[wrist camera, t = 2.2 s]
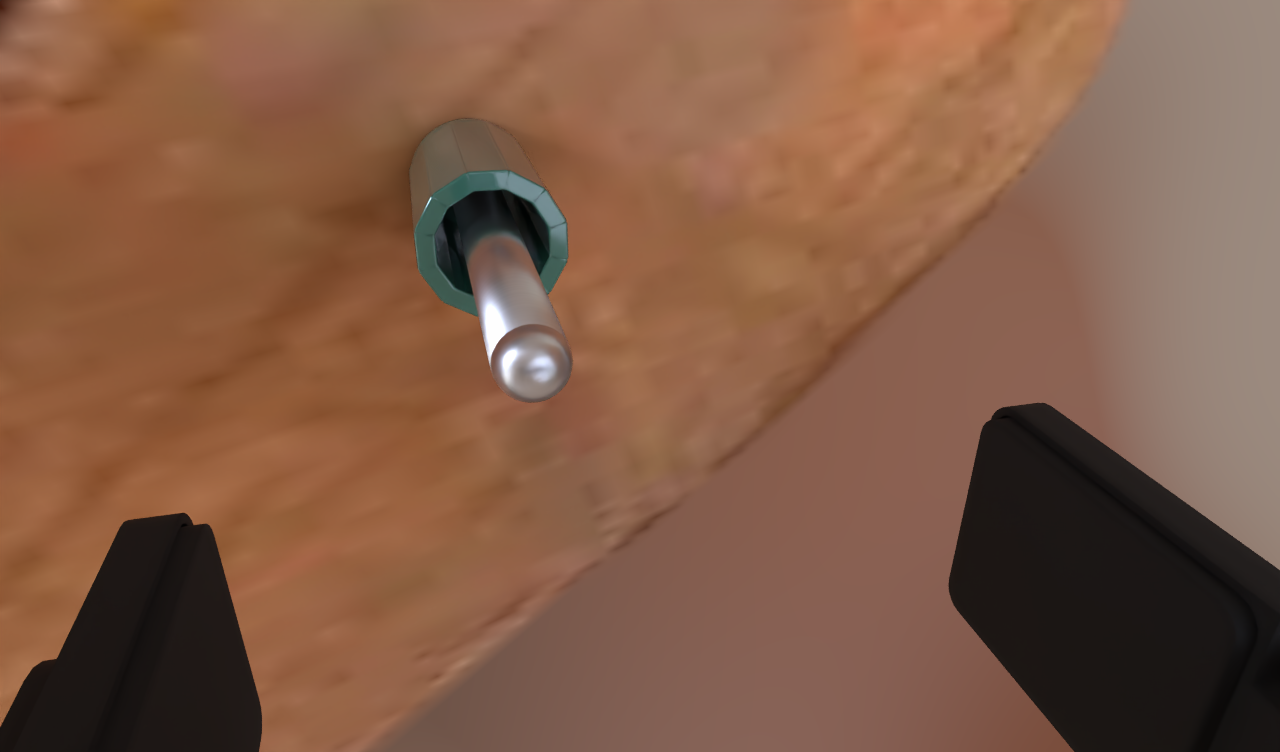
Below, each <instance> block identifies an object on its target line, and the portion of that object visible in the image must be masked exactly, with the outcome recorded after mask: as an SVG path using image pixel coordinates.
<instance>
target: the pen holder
mask: <svg viewBox="0 0 1280 752" xmlns="http://www.w3.org/2000/svg"><path fill="white" fill-rule="evenodd" d="M409 179H410V192H411V205H412V218H413V232H414V241H415V250H416V258H417V267H418V270H419V273H420V274H421V275H422V277H423V278H424V279H425V281H426V282H427V283H428V284H429V286H430V287H431V288H432V290H433V291H434V292H435V293H436V295H437V296H438V297H439V299H440V300H441V301H443V302H444V303H446V304H448V305H450V306H453V307H455V308H458V309H460V310H462V311H465V312H467V313H470V314H472V315H474V316H477V317H479V316H478V312H477V307H476V303H475V299H474V294H473V290H472V286H471V281H470V277H469V273H468V268H467V264H466V260H465V255H464V251H463V247H462V242H461V238H460V234H459V229H458V225H457V221H456V216H455V212H454V208H453V205H454V204H456V203H457V202H459V201H460V200H462V199H463V198H465V197H466V196H468V195H469V194H471V193H472V192H477V191H494V190H502V192H503V195H504V197H505V199H506V201H507V204H508V206H509V208H510V211H511V213H512V215H513V218H514V220H515V222H516V224H517V227H518V229H519V231H520V234H521V236H522V238H523V240H524V243H525V245H526V247H527V250H528V252H529V254H530V256H531V259H532V261H533V263H534V266H535V268H536V270H537V272H538V275H539V277H540V279H541V282H542V284H543V286H544V288H545V291H546V293H547V295H548V294H549V292H551V291H552V289H553V287H554V285H555V283H556V281H557V280H558V278H559V276H560V274H561V272H562V270H563V269H564V267H565V265H566V263H567V259H568V229H567V222H566V218H565V217H564V215H563V214H562V212H561V210H560V209H559V207H558V206H557V204H556V202H555V201H554V199H553V197H552V196H551V194H550V193H549V191H548V189H547V188H546V186H545V185H544V183H543V181H542V180H541V178H540V177H539V175H538V173H537V172H536V170H535V168H534V167H533V165H532V164H531V162H530V160H529V159H528V157H527V156H526V154H525V153H524V151H523V150H522V148H521V146H520V145H519V143H518V142H517V140H516V139H515V138H514V137H513V136H512V135H511V134H509V133H508V132H507V131H505V130H504V129H502V128H501V127H499V126H497V125H495V124H493V123H491V122H488V121H484V120H480V119H471V118H465V119H457V120H453V121H449V122H447V123H444V124H442V125H440V126H439V127H437V128H435V129H434V130H433V131H431V132H430V133H429V134H428V135H427V136H426V137H425V138H424V139H423V140H422V142H421V143H420V144H419V146H418V148H417V150H416V151H415V154H414V156H413V159H412V163H411V166H410V171H409Z"/></svg>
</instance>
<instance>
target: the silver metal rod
mask: <svg viewBox="0 0 1280 752" xmlns="http://www.w3.org/2000/svg"><path fill="white" fill-rule="evenodd" d="M453 208H454V212H455V216H456V221H457V225H458V229H459V234H460V238H461V242H462V247H463V251H464V255H465V260H466V264H467V268H468V273H469V277H470V281H471V286H472V290H473V294H474V299H475V303H476V307H477V312H478V316H479V320H480V325H481V329H482V333H483V338H484V342H485V346H486V351H487V355H488V359H489V364H490V368H491V372H492V375H493V377H494V379H495V382H496V383H497V385H498V386H499V388H500V389H501V390H502V391H503V392H505V393H506V394H507V395H508V396H510V397H512V398H513V399H515V400H518V401H521V402H528V403H532V402H541V401H545V400H547V399H550V398H551V397H553V396H555V395H556V394H557V393H559V392H560V391H561V390H562V389H563V388H564V386H565V385H566V384H567V382H568V380H569V378H570V375H571V371H572V366H573V358H572V352H571V348H570V346H569V343H568V341H567V339H566V337H565V334H564V332H563V330H562V327H561V325H560V323H559V321H558V318H557V316H556V314H555V311H554V309H553V307H552V304H551V302H550V300H549V298H548V295H547V293H546V291H545V288H544V286H543V284H542V282H541V279H540V277H539V275H538V272H537V270H536V268H535V266H534V263H533V261H532V259H531V256H530V254H529V252H528V250H527V247H526V245H525V243H524V240H523V238H522V236H521V234H520V231H519V229H518V227H517V224H516V222H515V220H514V218H513V215H512V213H511V211H510V208H509V206H508V204H507V201H506V199H505V197H504V195H503V192H502V190H494V191H477V192H472V193H471V194H469V195H468V196H466V197H465V198H463V199H462V200H460V201H459V202H457V203H456V204H454V205H453Z"/></svg>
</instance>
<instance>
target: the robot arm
mask: <svg viewBox="0 0 1280 752" xmlns="http://www.w3.org/2000/svg"><path fill="white" fill-rule="evenodd" d="M949 593H950V596H951V600H952V602H953V604H954V606H955V607H956V609H957V611H958V612H959V613H960V614H961V615H962V616H963V618H964V619H965V620H966V621H967V623H968V624H969V625H970V626H971V627H972V629H973V630H974V631H975V632H976V633H977V635H978V636H979V637H980V638H981V639H982V641H983V642H984V643H985V644H986V645H987V647H988V648H989V649H990V650H991V652H992V653H993V654H994V655H995V656H996V657H997V659H998V660H999V661H1000V662H1001V664H1002V665H1003V666H1004V667H1005V668H1006V670H1007V671H1008V672H1009V673H1010V674H1011V676H1012V677H1013V678H1014V679H1015V681H1016V682H1017V683H1018V684H1019V685H1020V687H1021V688H1022V689H1023V690H1024V691H1025V693H1026V694H1027V695H1028V696H1029V697H1030V699H1031V700H1032V701H1033V702H1034V703H1035V705H1036V706H1037V707H1038V708H1039V709H1040V711H1041V712H1042V713H1043V714H1044V715H1045V716H1046V718H1047V719H1048V720H1049V721H1050V723H1051V724H1052V725H1053V726H1054V728H1055V729H1056V730H1057V731H1058V732H1059V734H1060V735H1061V736H1062V737H1063V738H1064V740H1065V741H1066V742H1067V743H1068V744H1069V746H1070V747H1071V748H1072V749H1073V750H1074V752H1280V570H1279V569H1277V568H1276V567H1275V566H1273V565H1272V564H1270V563H1269V562H1268V561H1266V560H1265V559H1263V558H1262V557H1261V556H1259V555H1258V554H1256V553H1255V552H1254V551H1252V550H1251V549H1249V548H1248V547H1246V546H1245V545H1244V544H1242V543H1241V542H1240V541H1238V540H1237V539H1235V538H1234V537H1233V536H1231V535H1230V534H1228V533H1227V532H1226V531H1224V530H1223V529H1222V528H1220V527H1219V526H1217V525H1216V524H1215V523H1213V522H1212V521H1210V520H1209V519H1208V518H1206V517H1205V516H1203V515H1202V514H1201V513H1199V512H1198V511H1196V510H1195V509H1194V508H1192V507H1191V506H1190V505H1188V504H1186V503H1185V502H1184V501H1183V500H1181V499H1180V498H1178V497H1177V496H1176V495H1174V494H1173V493H1171V492H1170V491H1169V490H1167V489H1166V488H1164V487H1163V486H1162V485H1160V484H1159V483H1157V482H1156V481H1155V480H1153V479H1152V478H1150V477H1149V476H1148V475H1146V474H1145V473H1144V472H1142V471H1141V470H1139V469H1138V468H1136V467H1135V466H1134V465H1132V464H1131V463H1130V462H1128V461H1127V460H1125V459H1124V458H1123V457H1121V456H1120V455H1118V454H1117V453H1116V452H1114V451H1113V450H1111V449H1110V448H1109V447H1107V446H1106V445H1104V444H1103V443H1102V442H1100V441H1099V440H1097V439H1096V438H1095V437H1093V436H1092V435H1091V434H1089V433H1088V432H1086V431H1085V430H1084V429H1082V428H1081V427H1079V426H1078V425H1077V424H1075V423H1074V422H1072V421H1071V420H1070V419H1068V418H1067V417H1066V416H1064V415H1063V414H1061V413H1060V412H1058V411H1057V410H1055V409H1054V408H1053V407H1052V406H1050V405H1047V404H1045V403H1033V404H1026V405H1018V406H1010V407H1003V408H1001V409H999V410H997V411H996V412H995V413H994V415H993V416H992V419H991V420H990V421H988V422H986V423H985V425H984V426H983V428H982V431H981V435H980V440H979V444H978V449H977V453H976V458H975V462H974V467H973V472H972V476H971V482H970V485H969V490H968V495H967V500H966V504H965V508H964V513H963V518H962V522H961V527H960V531H959V536H958V541H957V545H956V550H955V555H954V559H953V564H952V568H951V573H950V577H949ZM261 734H262V713H261V706H260V701H259V697H258V694H257V690H256V686H255V683H254V679H253V675H252V672H251V668H250V664H249V661H248V657H247V654H246V650H245V646H244V643H243V639H242V635H241V632H240V628H239V624H238V621H237V617H236V614H235V610H234V606H233V603H232V599H231V595H230V592H229V588H228V584H227V581H226V577H225V574H224V570H223V566H222V563H221V559H220V555H219V552H218V548H217V544H216V541H215V537H214V534H213V531H212V529H211V527H210V526H209V525H208V524H200V525H193V523H192V520H191V519H190V517H189V516H188V515H187V514H185V513H179V514H171V515H164V516H156V517H148V518H140V519H133V520H127V521H125V522H124V523H123V524H122V525H121V527H120V528H119V531H118V533H117V535H116V537H115V539H114V541H113V543H112V545H111V547H110V549H109V551H108V553H107V556H106V558H105V560H104V562H103V564H102V566H101V568H100V570H99V572H98V574H97V576H96V578H95V581H94V583H93V585H92V587H91V589H90V591H89V593H88V595H87V597H86V599H85V601H84V603H83V606H82V608H81V610H80V612H79V614H78V616H77V618H76V620H75V622H74V624H73V626H72V628H71V631H70V633H69V635H68V637H67V639H66V641H65V643H64V645H63V647H62V649H61V651H60V653H59V656H58V658H57V659H54V660H47V661H42V662H41V663H39V664H38V665H36V666H35V667H33V669H32V670H31V672H30V673H29V674H28V676H27V677H26V679H25V680H24V682H23V684H22V686H21V688H20V690H19V692H18V694H17V696H16V698H15V700H14V702H13V704H12V706H11V708H10V710H9V711H8V713H7V715H6V717H5V719H4V721H3V723H2V725H1V727H0V752H259V747H260V742H261Z"/></svg>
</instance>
